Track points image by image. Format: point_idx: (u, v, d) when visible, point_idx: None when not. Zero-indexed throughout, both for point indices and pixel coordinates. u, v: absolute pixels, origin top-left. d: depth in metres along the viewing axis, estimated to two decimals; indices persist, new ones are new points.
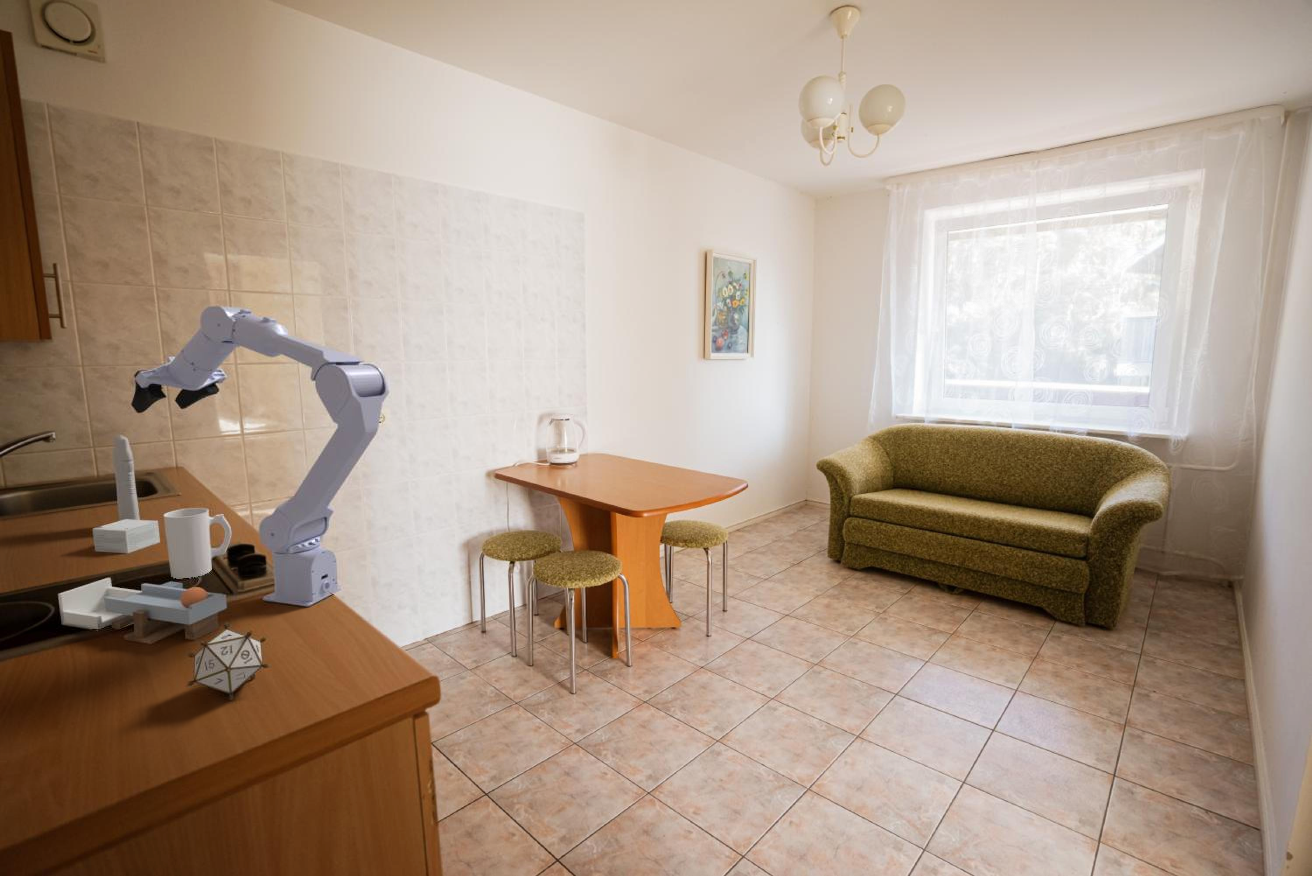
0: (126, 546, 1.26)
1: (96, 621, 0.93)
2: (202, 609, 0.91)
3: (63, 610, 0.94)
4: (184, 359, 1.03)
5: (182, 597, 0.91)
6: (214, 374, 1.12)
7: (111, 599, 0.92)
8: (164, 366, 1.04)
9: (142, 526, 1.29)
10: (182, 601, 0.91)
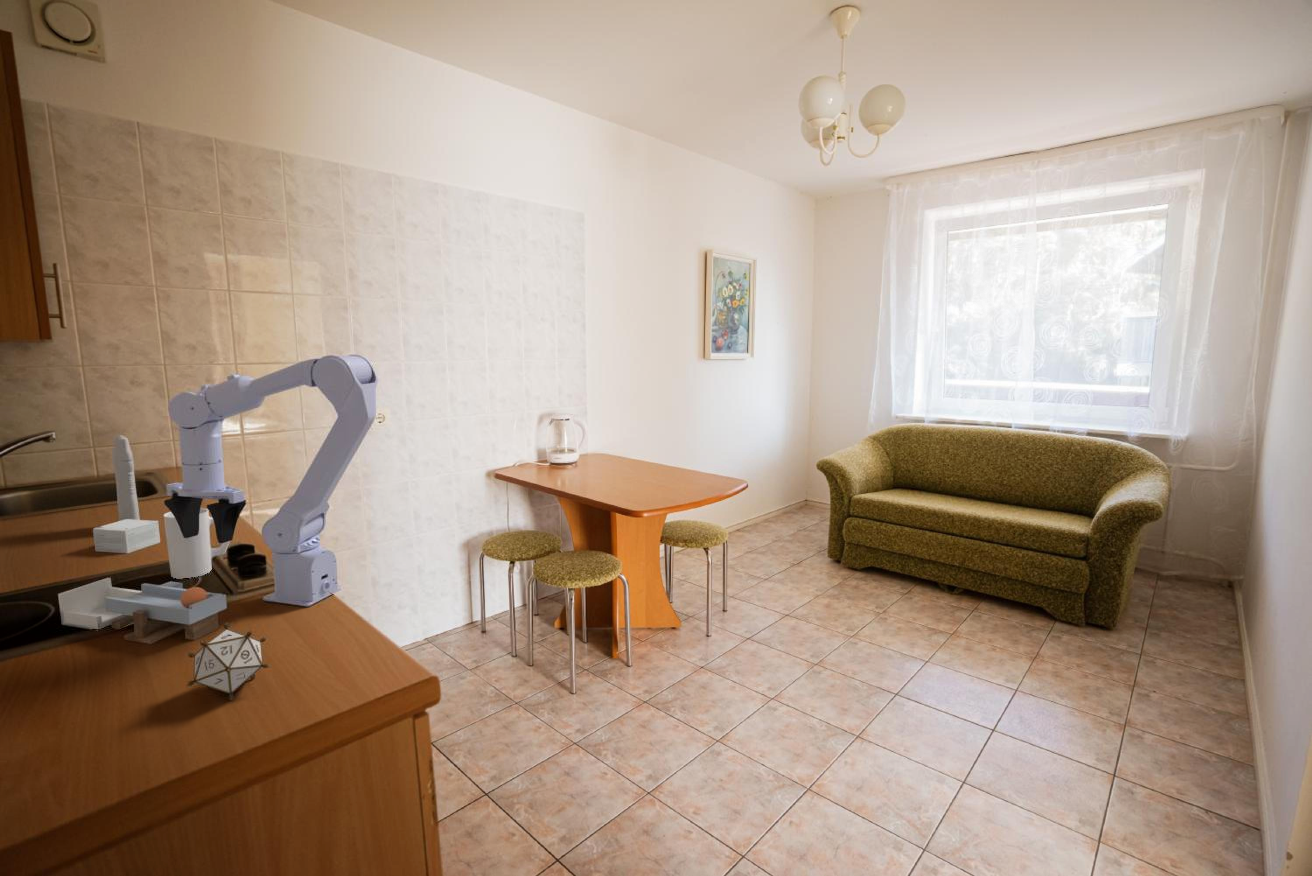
0: (126, 546, 1.26)
1: (96, 621, 0.93)
2: (202, 609, 0.91)
3: (63, 610, 0.94)
4: (216, 464, 1.03)
5: (182, 597, 0.91)
6: None
7: (111, 599, 0.92)
8: None
9: (142, 526, 1.29)
10: (182, 601, 0.91)
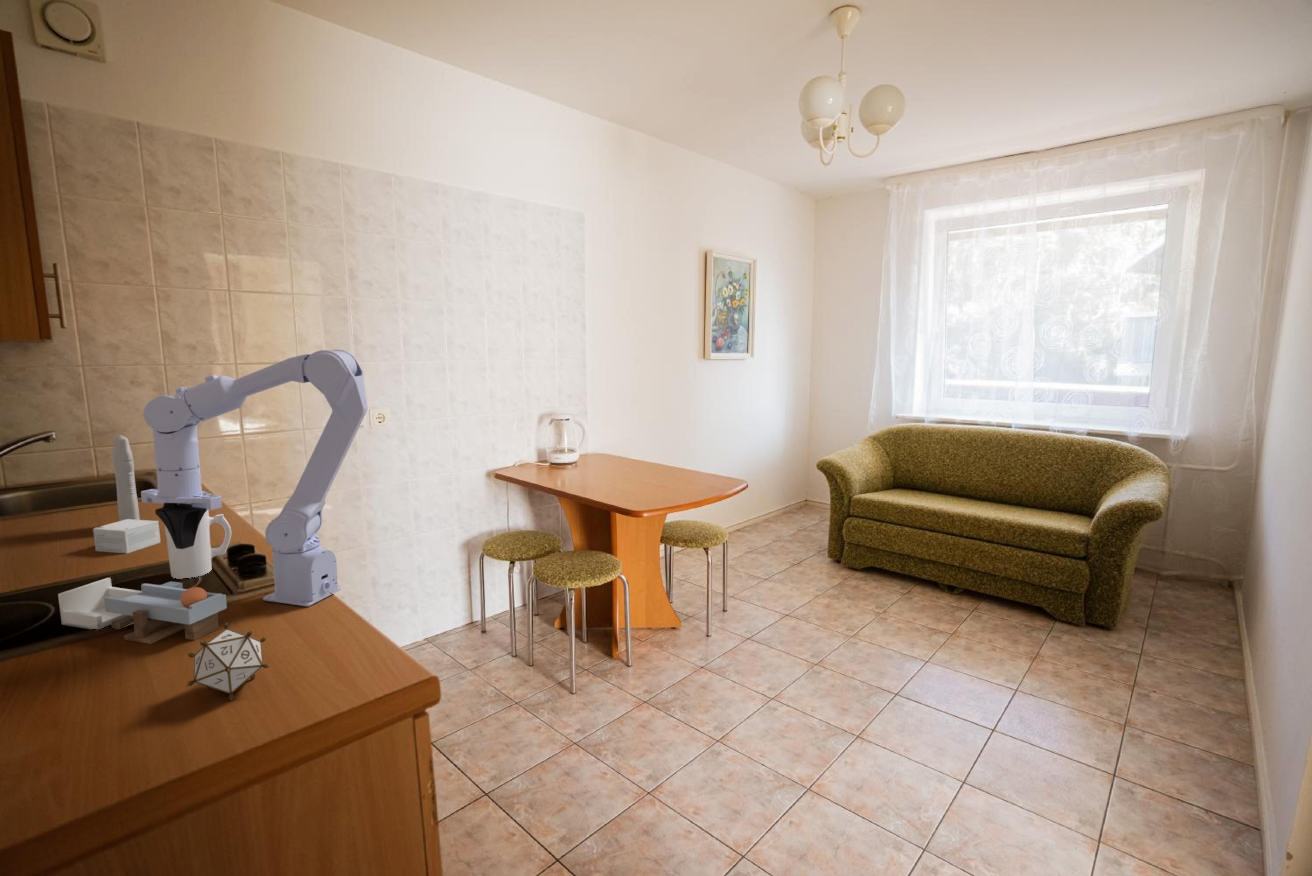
0: (125, 546, 1.26)
1: (96, 621, 0.93)
2: (202, 609, 0.91)
3: (63, 610, 0.94)
4: (192, 470, 1.00)
5: (182, 597, 0.91)
6: None
7: (111, 599, 0.92)
8: None
9: (142, 526, 1.29)
10: (182, 601, 0.91)
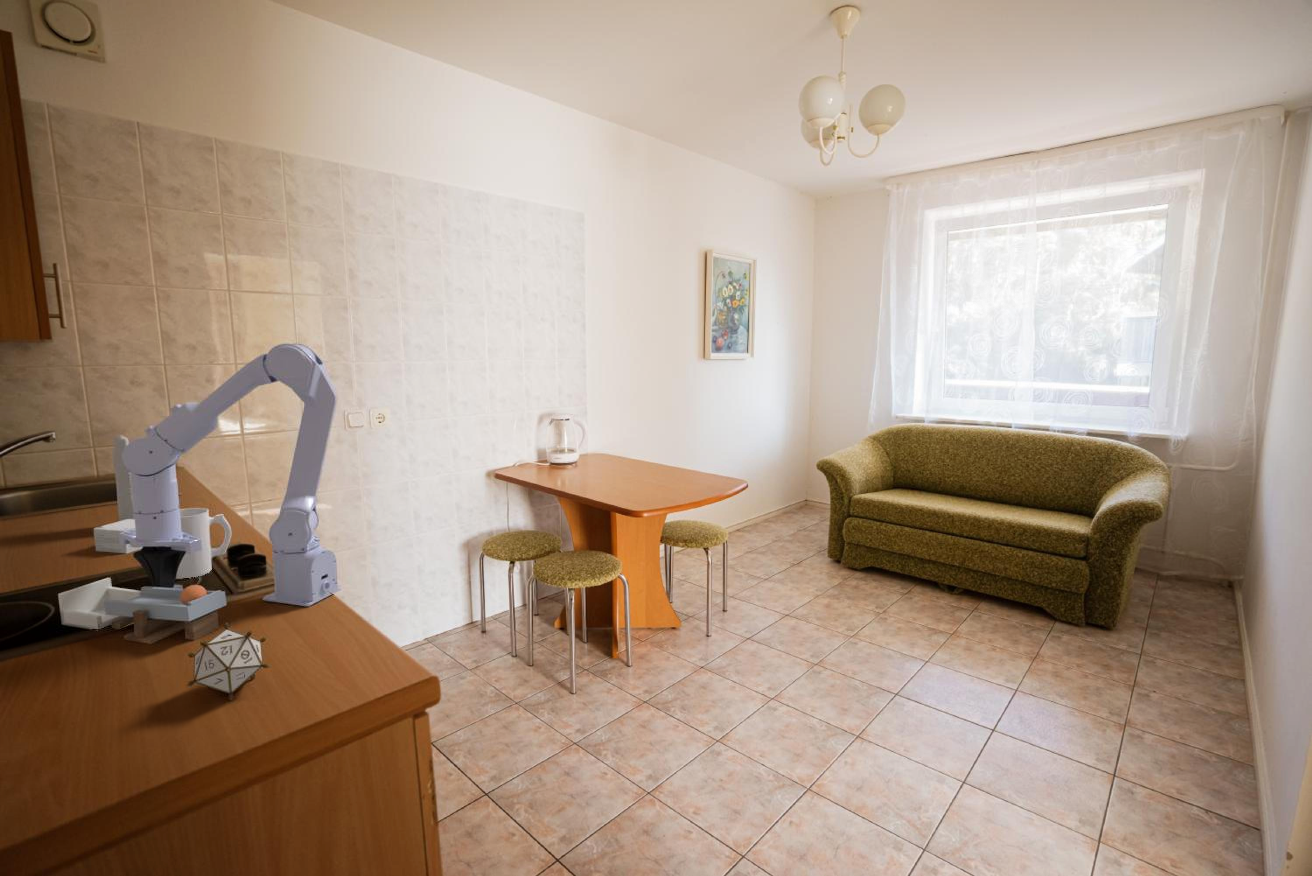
0: (125, 546, 1.26)
1: (96, 621, 0.93)
2: (201, 606, 0.91)
3: (63, 610, 0.94)
4: (171, 512, 0.97)
5: (181, 595, 0.91)
6: None
7: (110, 602, 0.92)
8: None
9: None
10: (181, 599, 0.91)
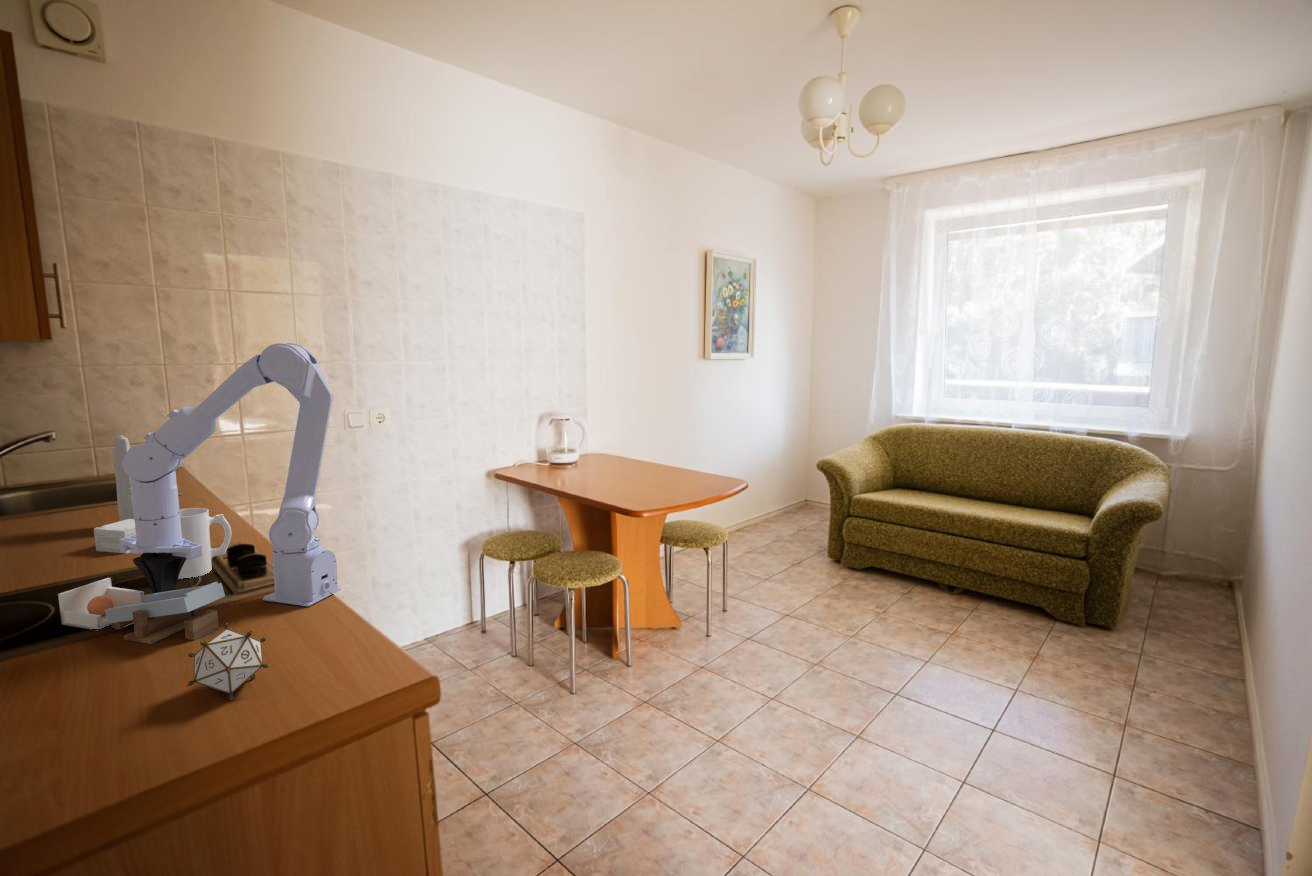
0: None
1: (96, 621, 0.93)
2: (198, 597, 0.91)
3: (63, 610, 0.94)
4: (172, 518, 0.98)
5: None
6: None
7: (111, 609, 0.92)
8: (160, 548, 0.96)
9: None
10: (89, 611, 0.95)
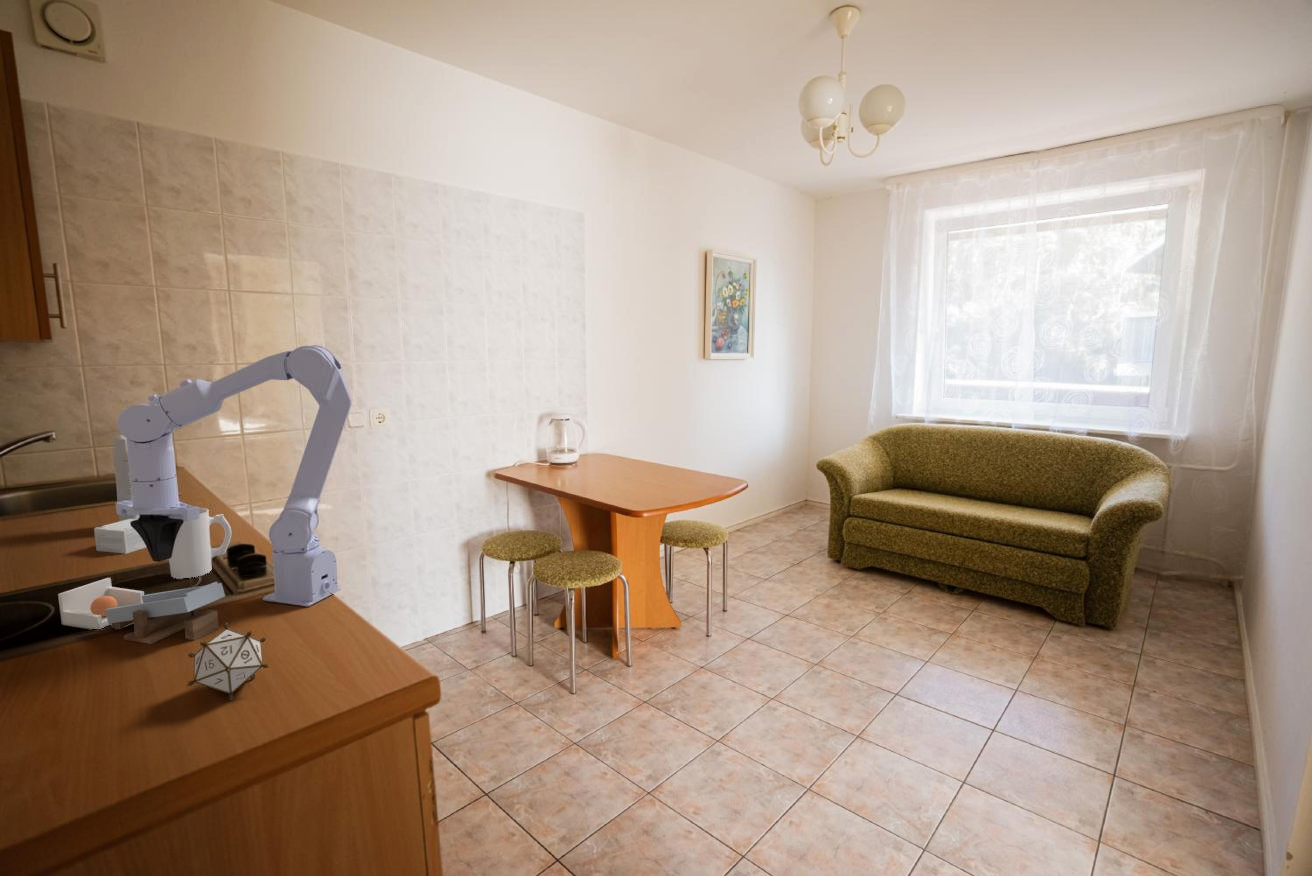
0: (124, 546, 1.25)
1: (96, 621, 0.93)
2: (198, 597, 0.91)
3: (63, 610, 0.94)
4: (168, 480, 0.97)
5: (90, 608, 0.95)
6: None
7: (111, 609, 0.92)
8: None
9: None
10: (92, 611, 0.95)
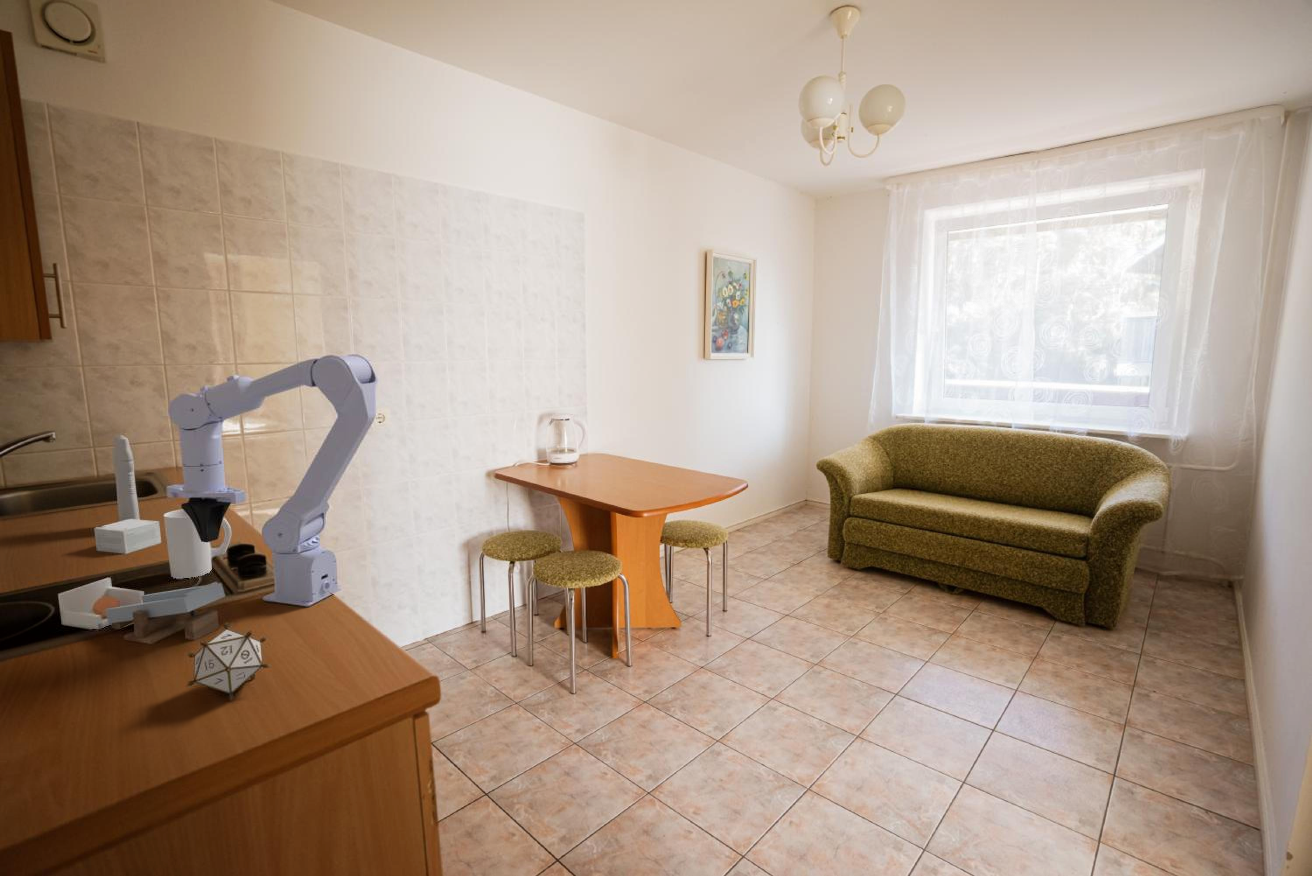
0: (124, 546, 1.25)
1: (96, 621, 0.93)
2: (198, 597, 0.91)
3: (63, 610, 0.94)
4: (217, 465, 1.03)
5: (93, 607, 0.95)
6: None
7: (111, 609, 0.92)
8: (207, 493, 1.01)
9: (142, 527, 1.29)
10: (94, 611, 0.95)
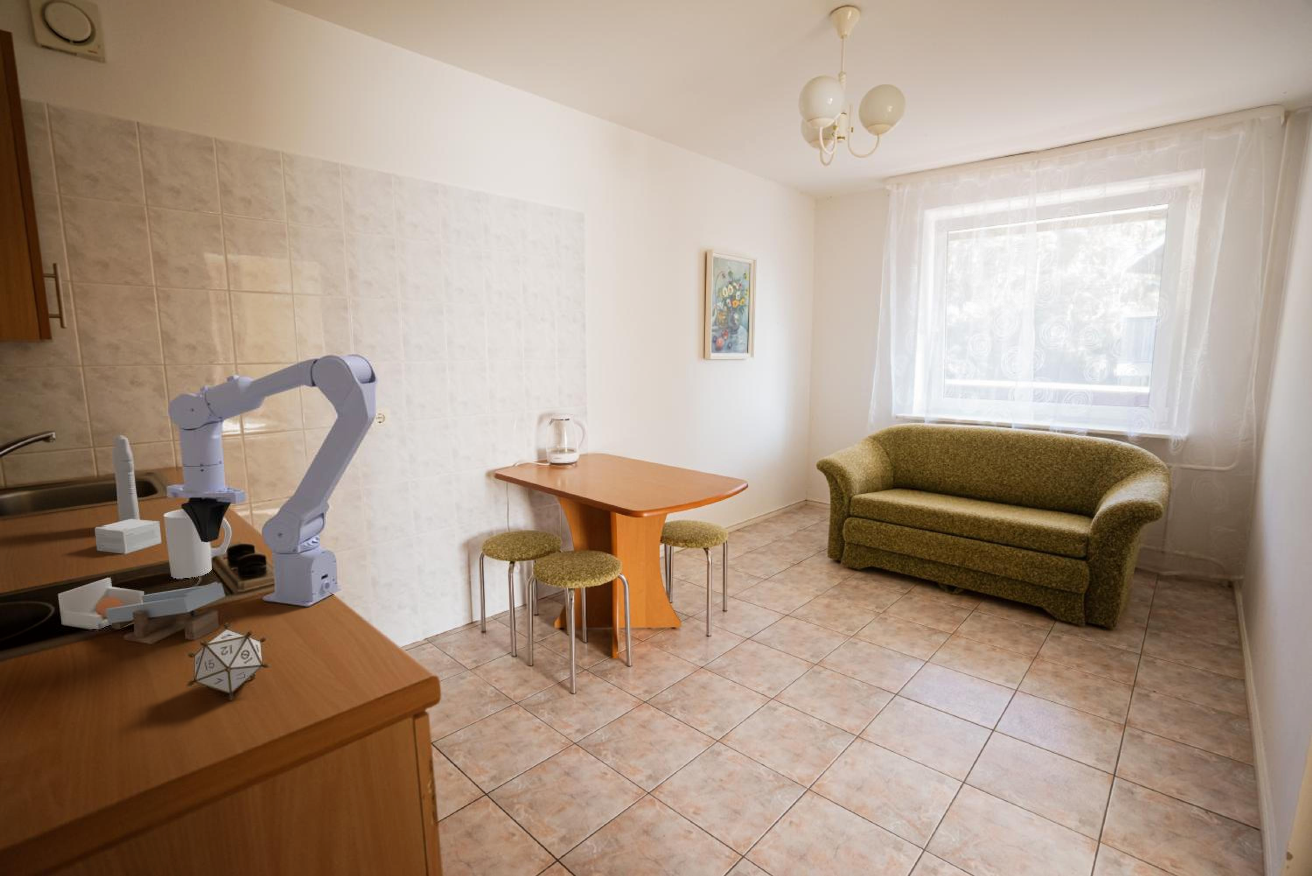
0: (124, 546, 1.25)
1: (96, 621, 0.93)
2: (198, 597, 0.91)
3: (63, 610, 0.94)
4: (217, 465, 1.03)
5: (96, 607, 0.95)
6: None
7: (111, 609, 0.92)
8: (207, 493, 1.01)
9: (141, 527, 1.29)
10: (96, 610, 0.95)
